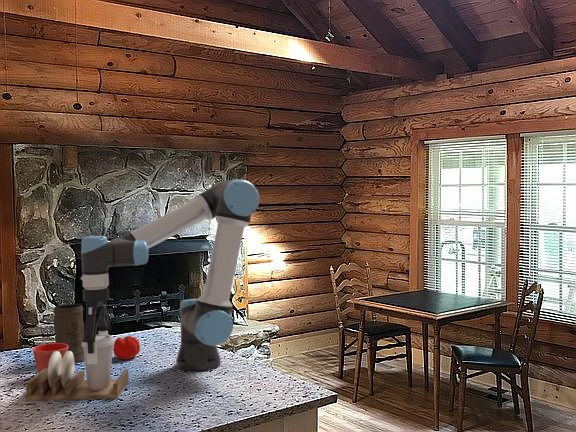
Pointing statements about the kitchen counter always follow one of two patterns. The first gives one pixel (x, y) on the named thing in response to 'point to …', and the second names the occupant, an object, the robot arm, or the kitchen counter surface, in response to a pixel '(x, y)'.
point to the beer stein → (70, 328)
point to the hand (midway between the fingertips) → (98, 357)
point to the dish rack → (69, 382)
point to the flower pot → (47, 353)
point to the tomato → (126, 347)
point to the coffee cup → (100, 363)
